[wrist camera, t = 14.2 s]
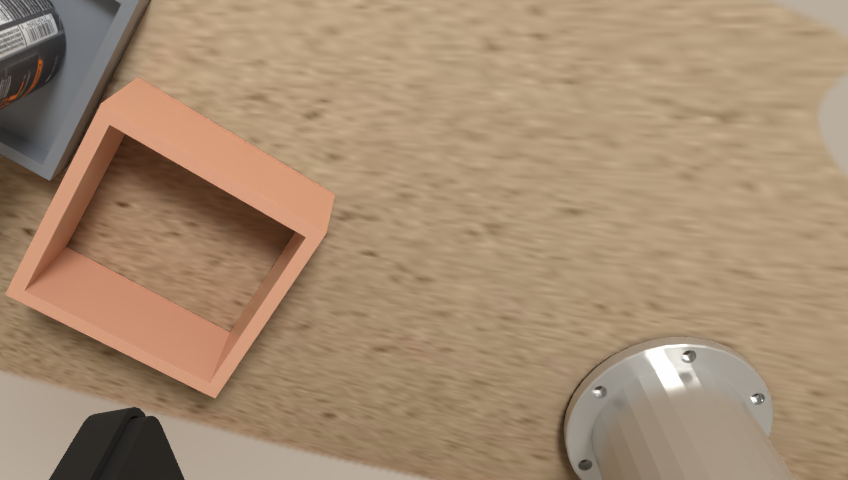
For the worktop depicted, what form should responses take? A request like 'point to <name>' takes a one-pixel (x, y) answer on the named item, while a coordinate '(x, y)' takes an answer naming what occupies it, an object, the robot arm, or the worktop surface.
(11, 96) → the pill bottle
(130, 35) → the charcoal tray
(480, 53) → the worktop surface
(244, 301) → the worktop surface
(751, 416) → the robot arm
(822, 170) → the worktop surface
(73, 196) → the frame
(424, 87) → the worktop surface
